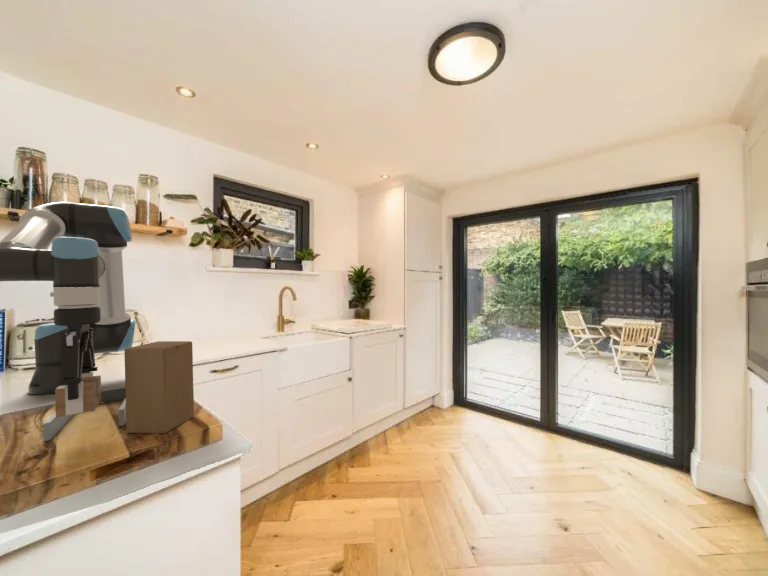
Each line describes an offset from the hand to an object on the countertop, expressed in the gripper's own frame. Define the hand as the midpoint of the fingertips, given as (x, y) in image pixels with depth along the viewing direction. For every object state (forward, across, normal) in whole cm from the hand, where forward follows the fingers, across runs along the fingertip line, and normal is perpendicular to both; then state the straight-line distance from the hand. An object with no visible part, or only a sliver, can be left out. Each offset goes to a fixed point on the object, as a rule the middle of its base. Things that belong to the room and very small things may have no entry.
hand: (80, 406), depth 71 cm
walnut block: (0, 0, 0) cm, 0 cm away
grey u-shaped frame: (+8, -16, 0) cm, 18 cm away
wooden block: (+8, +2, +15) cm, 17 cm away
